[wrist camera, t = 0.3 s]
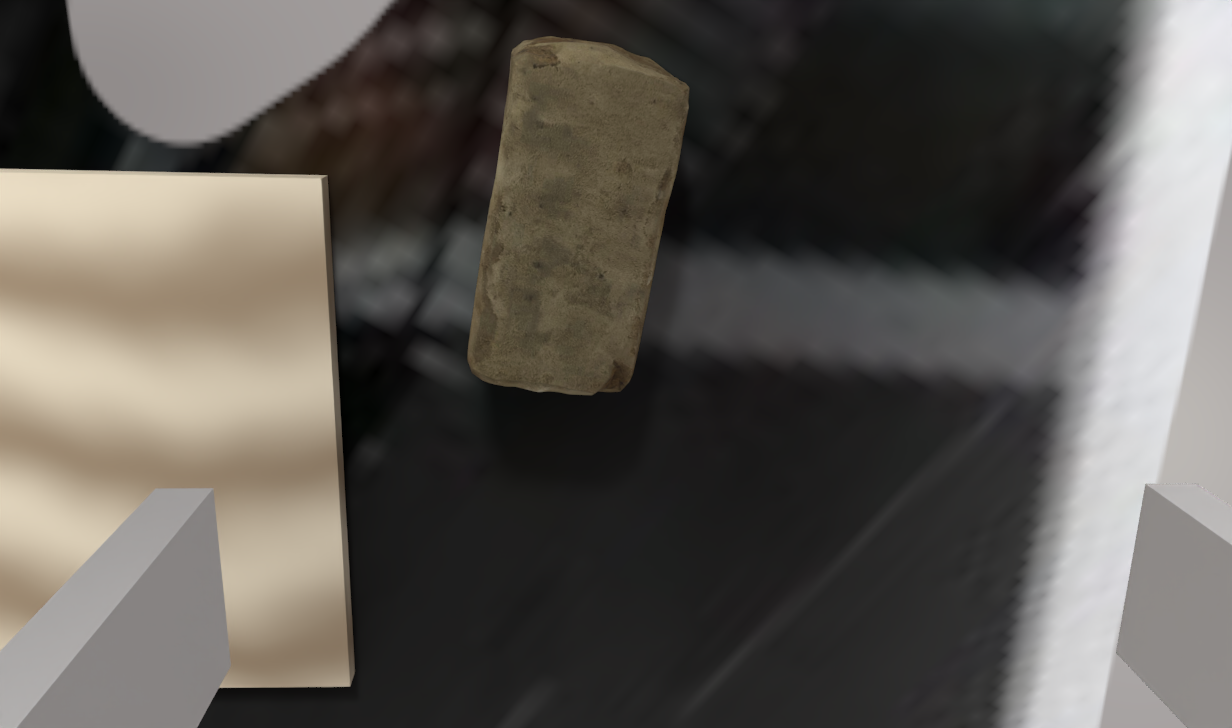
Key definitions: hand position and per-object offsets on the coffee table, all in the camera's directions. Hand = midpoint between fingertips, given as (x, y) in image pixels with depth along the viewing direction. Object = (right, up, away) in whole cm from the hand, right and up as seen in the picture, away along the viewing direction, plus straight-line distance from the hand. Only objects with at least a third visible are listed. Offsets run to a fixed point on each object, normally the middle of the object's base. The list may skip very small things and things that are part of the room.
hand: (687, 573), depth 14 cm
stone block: (-3, +9, +22) cm, 24 cm away
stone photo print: (-19, 0, +24) cm, 30 cm away
